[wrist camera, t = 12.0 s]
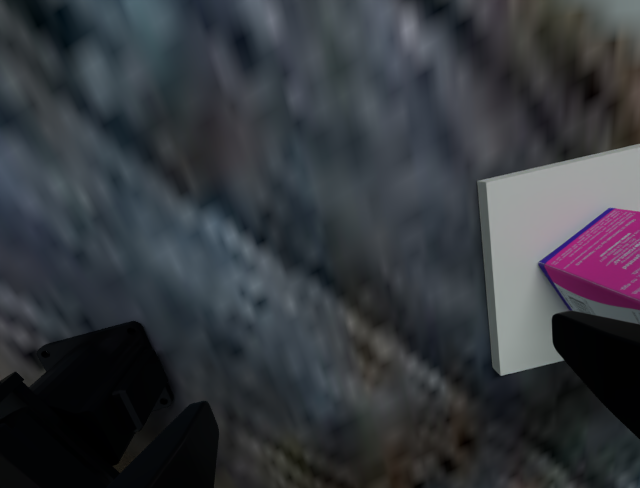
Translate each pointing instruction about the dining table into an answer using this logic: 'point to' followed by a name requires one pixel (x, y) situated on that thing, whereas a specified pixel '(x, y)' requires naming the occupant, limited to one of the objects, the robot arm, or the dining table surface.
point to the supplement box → (600, 267)
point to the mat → (542, 244)
